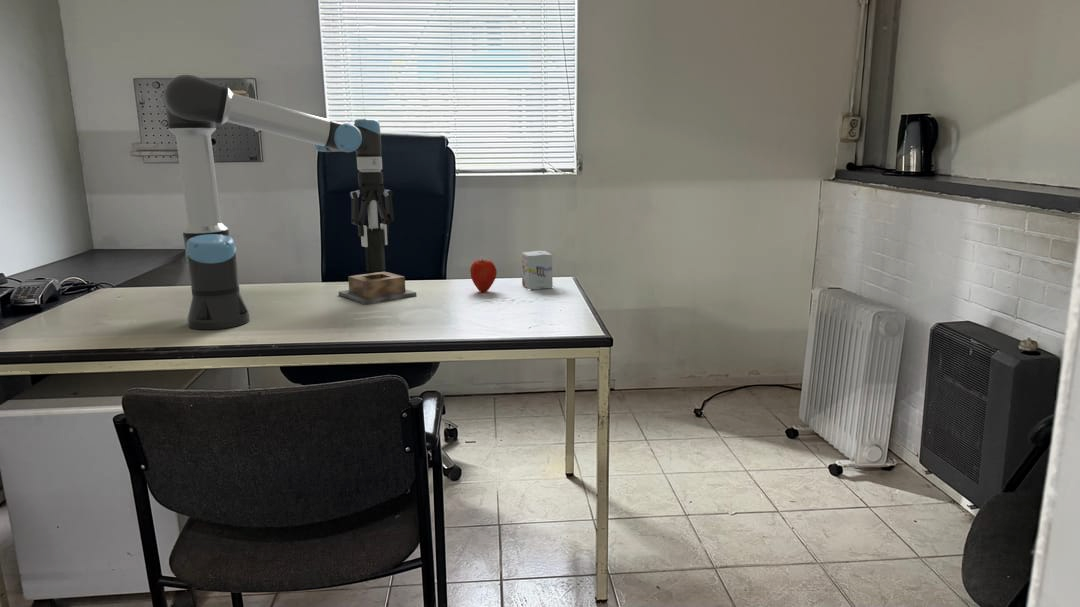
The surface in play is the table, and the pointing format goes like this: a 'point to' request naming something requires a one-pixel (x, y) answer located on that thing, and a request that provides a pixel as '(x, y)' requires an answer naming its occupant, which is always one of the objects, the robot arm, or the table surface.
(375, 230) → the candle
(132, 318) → the table surface
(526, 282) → the ink box
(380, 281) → the holder
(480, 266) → the red strawberry
